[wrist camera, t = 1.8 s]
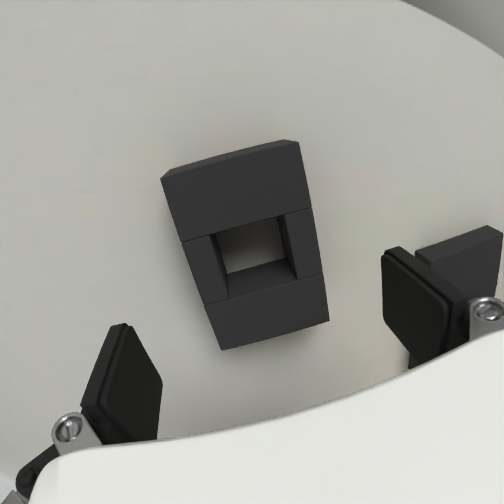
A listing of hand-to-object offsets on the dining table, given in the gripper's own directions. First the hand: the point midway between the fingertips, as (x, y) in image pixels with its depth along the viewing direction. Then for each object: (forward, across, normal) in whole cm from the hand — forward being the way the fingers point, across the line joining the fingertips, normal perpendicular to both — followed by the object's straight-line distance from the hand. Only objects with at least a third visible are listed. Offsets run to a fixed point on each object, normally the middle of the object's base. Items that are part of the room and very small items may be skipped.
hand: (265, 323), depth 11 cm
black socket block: (+8, 0, 0) cm, 8 cm away
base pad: (+8, -15, +10) cm, 20 cm away
